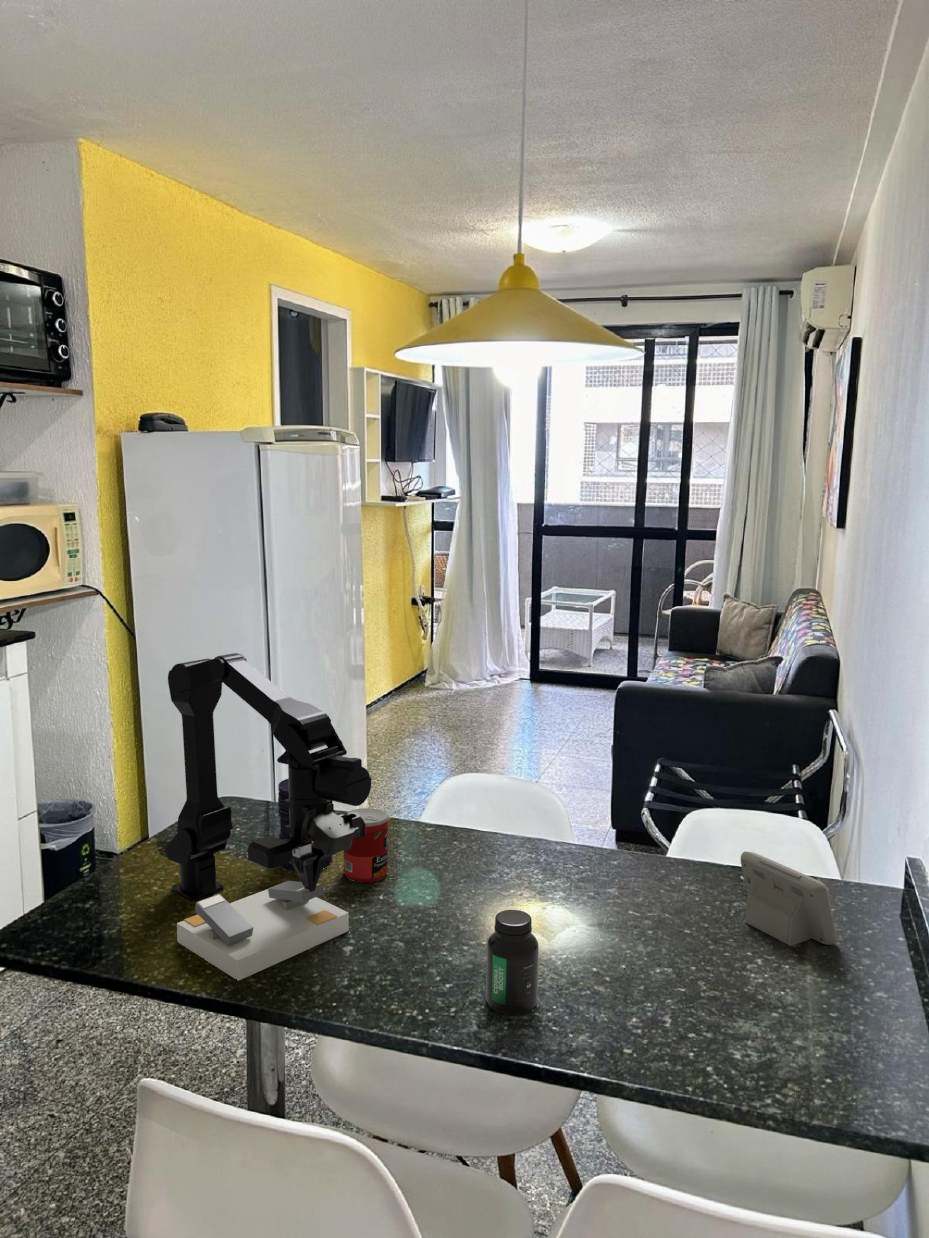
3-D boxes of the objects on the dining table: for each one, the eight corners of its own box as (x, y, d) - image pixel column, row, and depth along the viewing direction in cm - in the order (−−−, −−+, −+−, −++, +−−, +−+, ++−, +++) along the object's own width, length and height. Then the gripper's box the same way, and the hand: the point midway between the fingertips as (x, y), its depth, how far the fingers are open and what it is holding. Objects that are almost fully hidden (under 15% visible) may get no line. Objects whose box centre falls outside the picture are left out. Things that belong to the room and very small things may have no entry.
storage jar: (328, 873, 160) (327, 793, 158) (273, 872, 160) (272, 792, 158) (336, 851, 170) (336, 775, 168) (285, 851, 170) (284, 775, 168)
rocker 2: (269, 897, 142) (267, 887, 142) (289, 889, 145) (288, 880, 145) (303, 902, 136) (301, 891, 136) (324, 893, 139) (322, 883, 139)
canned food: (381, 885, 155) (381, 824, 154) (337, 880, 157) (336, 820, 156) (393, 867, 163) (393, 809, 161) (351, 863, 164) (351, 806, 163)
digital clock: (842, 948, 135) (847, 881, 134) (793, 958, 132) (798, 889, 131) (772, 903, 151) (776, 842, 149) (727, 910, 148) (730, 848, 146)
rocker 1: (194, 910, 132) (195, 901, 132) (218, 902, 135) (219, 893, 135) (228, 945, 127) (229, 936, 126) (252, 935, 130) (253, 926, 129)
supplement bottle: (499, 1021, 115) (501, 933, 114) (477, 994, 121) (479, 910, 120) (546, 1009, 118) (548, 923, 116) (522, 984, 124) (524, 902, 123)
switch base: (177, 941, 135) (176, 915, 134) (285, 899, 149) (285, 875, 149) (238, 980, 124) (237, 952, 124) (348, 930, 139) (348, 905, 138)
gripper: (290, 821, 124) (293, 928, 126) (389, 790, 138) (390, 887, 139) (244, 804, 131) (247, 905, 133) (342, 776, 145) (343, 868, 147)
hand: (310, 891), depth 138 cm, fingers closed, pressing on rocker 2
